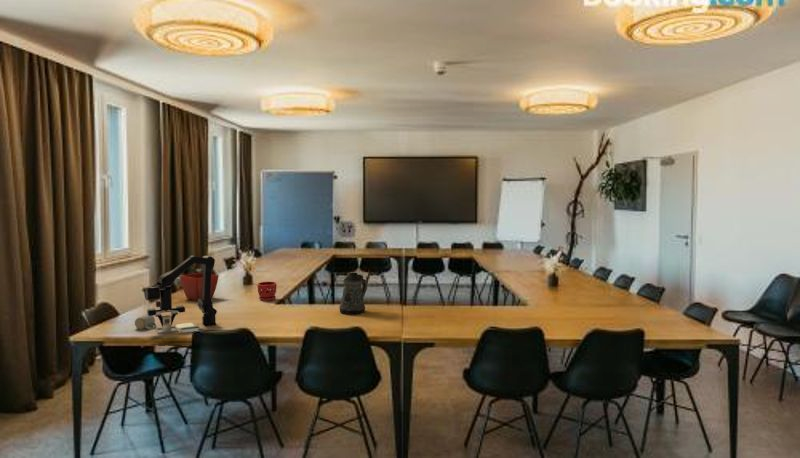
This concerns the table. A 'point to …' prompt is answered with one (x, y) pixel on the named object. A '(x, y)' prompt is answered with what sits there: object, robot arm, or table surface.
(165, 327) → the tan rectangular block
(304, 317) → the table surface
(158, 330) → the tray
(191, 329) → the tray
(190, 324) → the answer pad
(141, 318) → the ceramic mug
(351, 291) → the beer stein
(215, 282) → the plant pot
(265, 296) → the plant pot
